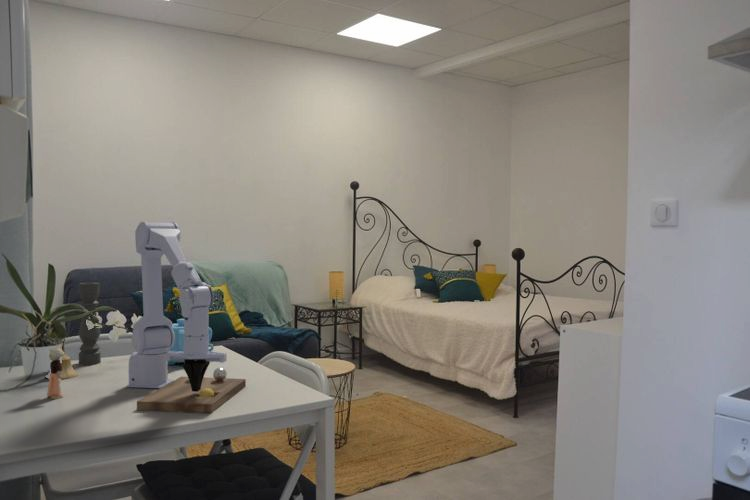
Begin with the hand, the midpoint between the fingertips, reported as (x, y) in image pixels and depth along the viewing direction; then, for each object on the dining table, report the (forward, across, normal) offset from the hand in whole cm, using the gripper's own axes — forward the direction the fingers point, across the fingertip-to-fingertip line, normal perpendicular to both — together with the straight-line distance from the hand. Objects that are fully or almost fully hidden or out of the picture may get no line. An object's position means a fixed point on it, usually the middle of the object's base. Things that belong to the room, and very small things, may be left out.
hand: (196, 390), depth 146 cm
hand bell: (+3, -48, +19) cm, 52 cm away
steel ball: (-1, +1, +13) cm, 13 cm away
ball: (+1, +3, 0) cm, 3 cm away
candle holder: (+3, -50, +36) cm, 62 cm away
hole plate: (+3, -2, +4) cm, 5 cm away
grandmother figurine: (+3, -36, -1) cm, 36 cm away
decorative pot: (+3, -23, +43) cm, 49 cm away
